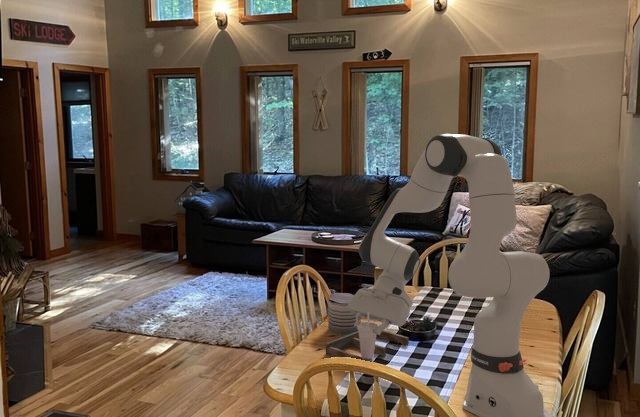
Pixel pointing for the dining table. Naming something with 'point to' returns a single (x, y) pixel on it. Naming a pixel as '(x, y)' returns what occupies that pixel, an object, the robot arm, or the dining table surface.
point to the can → (340, 314)
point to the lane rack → (352, 339)
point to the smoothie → (367, 338)
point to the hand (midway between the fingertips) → (366, 330)
